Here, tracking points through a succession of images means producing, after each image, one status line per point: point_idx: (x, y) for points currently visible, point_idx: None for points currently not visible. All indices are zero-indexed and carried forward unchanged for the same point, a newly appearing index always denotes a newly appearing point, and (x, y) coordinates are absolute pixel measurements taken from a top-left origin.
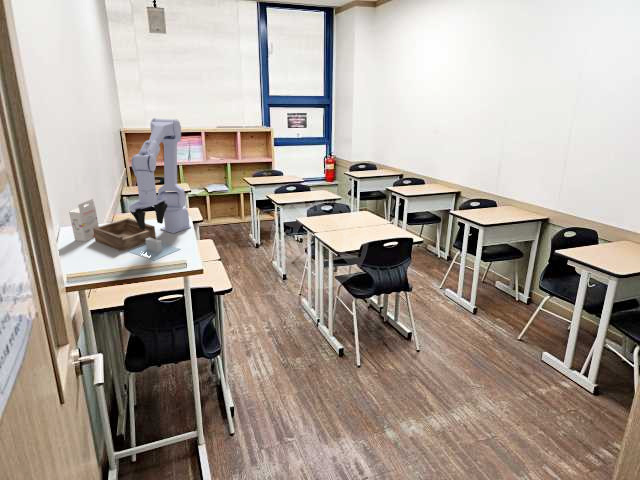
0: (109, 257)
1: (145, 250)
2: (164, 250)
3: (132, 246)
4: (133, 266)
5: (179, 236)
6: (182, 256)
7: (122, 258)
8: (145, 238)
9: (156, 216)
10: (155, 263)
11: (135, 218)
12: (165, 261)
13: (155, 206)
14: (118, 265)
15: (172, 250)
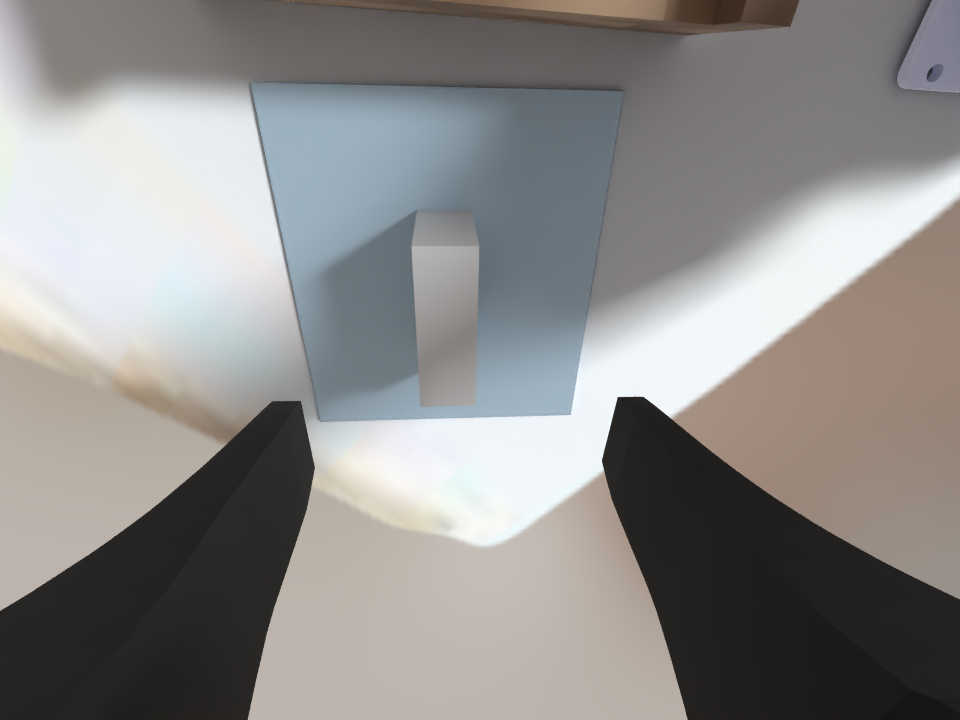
0: (4, 43)
1: (389, 227)
2: (486, 353)
3: (355, 6)
4: (153, 392)
5: (823, 205)
6: (484, 490)
7: (130, 195)
8: (560, 19)
9: (667, 455)
10: None
11: (112, 554)
12: (365, 474)
13: (806, 692)
14: (48, 295)
15: (519, 395)
